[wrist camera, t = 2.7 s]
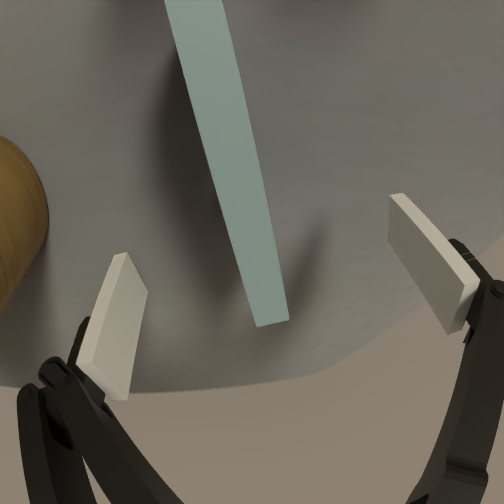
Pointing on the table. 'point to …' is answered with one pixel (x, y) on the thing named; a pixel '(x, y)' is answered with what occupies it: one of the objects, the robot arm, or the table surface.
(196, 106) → the teal rectangular panel
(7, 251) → the lamp
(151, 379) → the table surface
